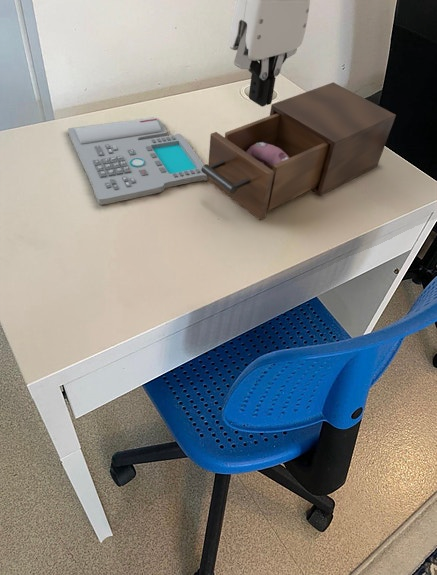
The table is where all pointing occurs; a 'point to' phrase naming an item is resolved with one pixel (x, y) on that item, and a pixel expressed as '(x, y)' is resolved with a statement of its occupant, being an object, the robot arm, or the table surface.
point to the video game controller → (267, 153)
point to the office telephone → (134, 158)
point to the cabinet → (340, 130)
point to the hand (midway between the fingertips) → (259, 101)
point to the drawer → (267, 180)
